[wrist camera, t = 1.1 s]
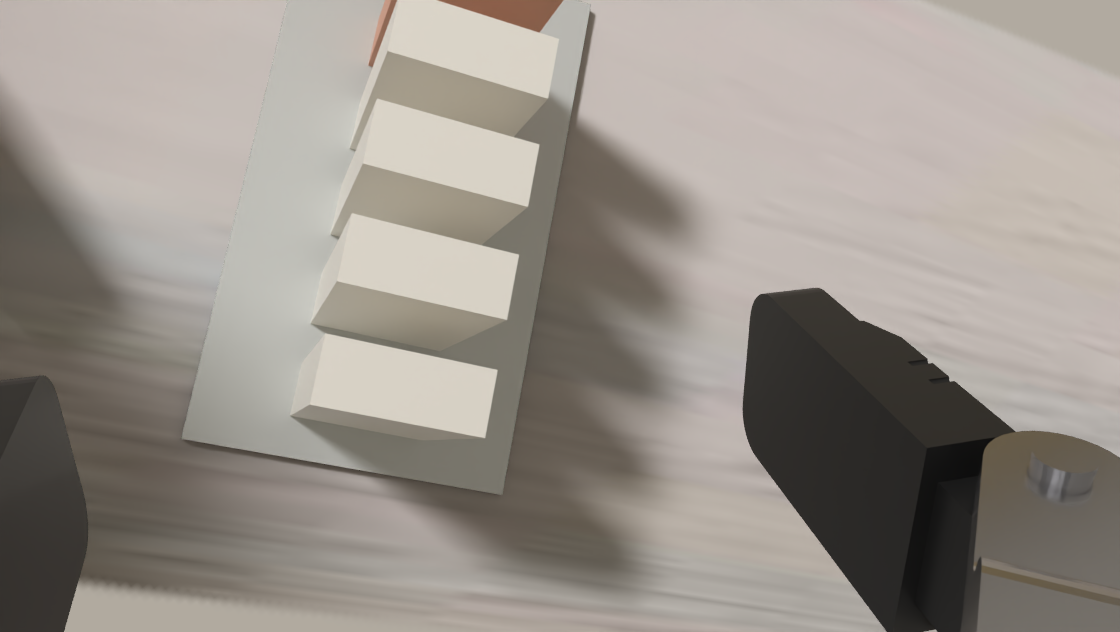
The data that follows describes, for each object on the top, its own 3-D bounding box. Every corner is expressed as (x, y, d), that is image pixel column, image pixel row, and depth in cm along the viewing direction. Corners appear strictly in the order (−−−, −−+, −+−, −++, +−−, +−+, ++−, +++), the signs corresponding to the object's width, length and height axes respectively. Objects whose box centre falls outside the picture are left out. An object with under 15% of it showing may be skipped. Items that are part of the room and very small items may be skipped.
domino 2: (349, 148, 38) (387, 50, 29) (360, 100, 39) (401, -11, 29) (473, 181, 40) (547, 98, 30) (482, 135, 40) (559, 39, 31)
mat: (181, 438, 35) (181, 438, 35) (308, -84, 39) (309, -89, 39) (499, 494, 39) (502, 495, 38) (587, 8, 43) (590, 4, 42)
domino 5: (289, 415, 36) (309, 404, 27) (301, 362, 37) (325, 333, 27) (422, 440, 38) (485, 438, 28) (432, 389, 38) (497, 369, 29)
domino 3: (330, 234, 38) (362, 163, 28) (341, 185, 38) (376, 98, 29) (457, 264, 39) (527, 206, 30) (466, 217, 39) (539, 144, 30)
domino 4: (310, 323, 37) (336, 281, 28) (322, 272, 37) (351, 213, 28) (439, 351, 38) (506, 320, 29) (449, 301, 39) (518, 255, 29)
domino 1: (368, 65, 39) (411, -57, 30) (378, 19, 39) (424, -116, 30) (489, 100, 40) (567, -6, 31) (498, 55, 41) (577, -63, 31)
